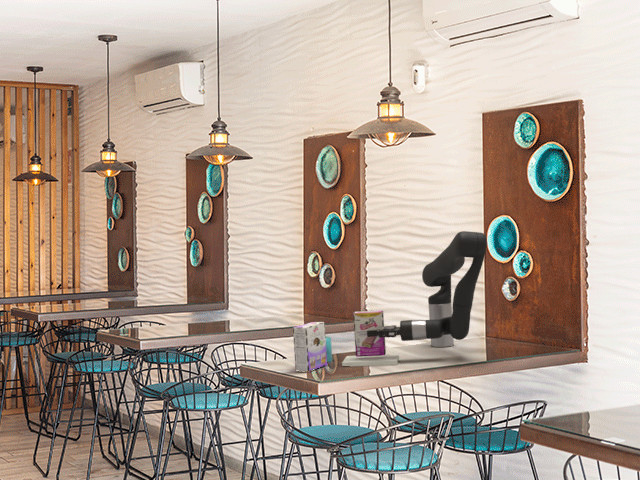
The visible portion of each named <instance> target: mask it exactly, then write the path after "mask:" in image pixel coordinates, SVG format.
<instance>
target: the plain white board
mask: <svg viewBox="0 0 640 480" xmlns="http://www.w3.org/2000/svg"><path fill="white" fill-rule="evenodd" d="M399 361H400V354H399V353H393V354H391V353H390V354H387V353H386V354H385V355H382V356H362V357H356V355H346V357H345V358H344V359H343V361H342V362H341V367H342V366H350V367H369V366H370V367H374V366H376V365H377V366H378V367H379V366H396V365H397V366H398V363H399ZM377 366H376V367H377Z"/></svg>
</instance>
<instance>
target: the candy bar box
mask: <svg viewBox="0 0 640 480" xmlns="http://www.w3.org/2000/svg"><path fill="white" fill-rule="evenodd" d="M352 315H353V327H354V328H353V331H354V345H355V356H356V357H362V356H382V355H387V350H386V347H387V346H386V337H381V338H380V337H378V336H375V337H368V336H367V331H370V330H382V329H383V328H384V326H385V319H384V317H385V314H384V310H383V309H382V310H365V311H364V310H363V311H353V314H352ZM382 335H383V332H382Z"/></svg>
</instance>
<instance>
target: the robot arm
mask: <svg viewBox="0 0 640 480" xmlns="http://www.w3.org/2000/svg"><path fill="white" fill-rule="evenodd" d="M487 247H488V241H487V236H486V234H485V233H484V232H478V231H466V230H465V231H464V230H463V231H458V232H457V233H456V234H455V235H454V237H453V239H452V241H451V242H450V243H449V245H447V247H446V248H445V249H444V250H443V251H442V252H441V253H440V254H439V255H438V256H437V257H436V258H434V260H433V261H431V262H429V263H428V264H426V265H425V266H424V268H423V270H422V274H421V276H422V277H421V278H422V282H423V283H424V285H425V286H427V287H429V288H436V287H440V288H439V290H438V291H436V292H435V293H433V294H431V295H430V296H428V297H427V299H428V302H427V303H428V318H429V319H407V320H405V319H403V320H400V322H399V326H397V325H395V324H392V325H384V328H383V329H382V330H370V331H367V336H368V337H375V336H378V337H380V338H381V337H385V338H396V337H397V336H400V340H401V341H402V342H408V341H411V342H412V341H422V340H430V346H431V347H433V348H445V347H452V346H455V345H454V343H455V340H457V341H461V340H464V339H465V338H466V337H467V336H468V335H469V331H470V324H471V312H472V308H473V303H474V297H475V291H476V287H477V282H478V279H479V276H480V273H481V269H482V267H483V263H484V259H485V256H486V252H487ZM466 258H469V259H471V258H473V259H472V261H471V264H470V266H469V268H468V270H467V272H466V273H465V274H464V275H463V277H461V279H460V280H459V281H458V283H457V284H456V286H455V288H454V292H453V299H452V275H453V274H455V273H457V272H458V271H460V270H461V268H462V267H463V266H464V264H465V261H466V260H465V259H466ZM382 332H383V335H382Z"/></svg>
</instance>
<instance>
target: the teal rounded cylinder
mask: <svg viewBox="0 0 640 480" xmlns="http://www.w3.org/2000/svg"><path fill="white" fill-rule="evenodd" d="M332 348H333V347H332V337H331V336H326V351H327V362H328V363H331V362H333V351H332Z"/></svg>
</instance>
